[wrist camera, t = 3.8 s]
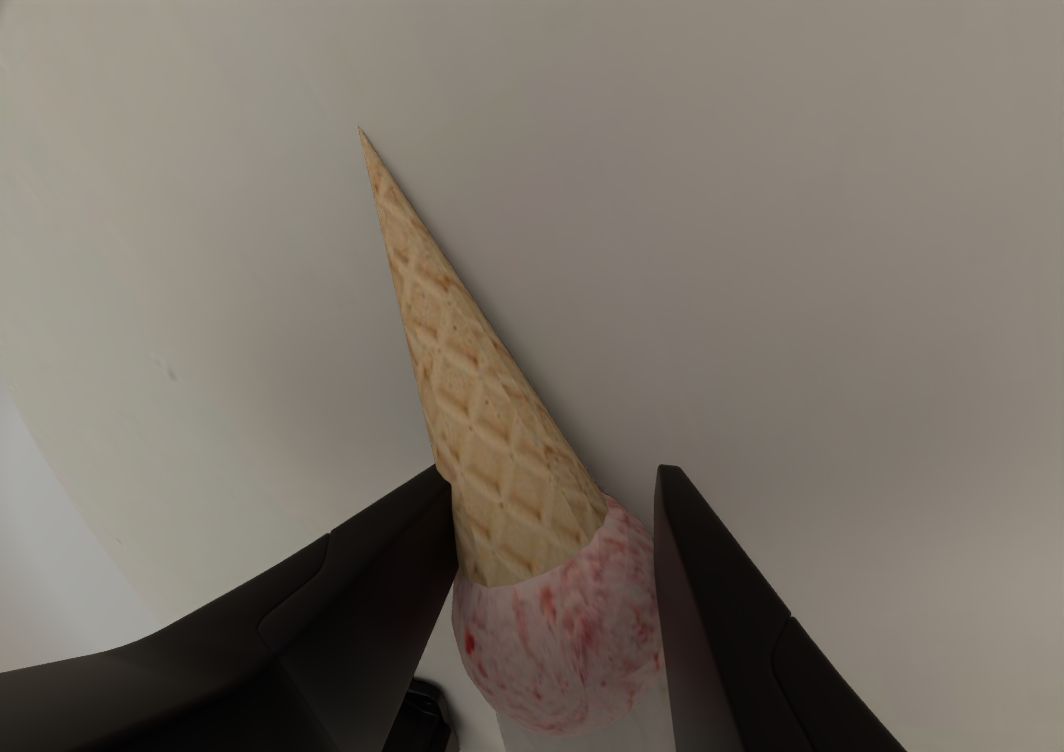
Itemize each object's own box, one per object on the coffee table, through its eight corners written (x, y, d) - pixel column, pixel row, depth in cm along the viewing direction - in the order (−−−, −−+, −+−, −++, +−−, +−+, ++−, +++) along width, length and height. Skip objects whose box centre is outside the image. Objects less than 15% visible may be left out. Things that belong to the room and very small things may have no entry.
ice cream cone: (300, 211, 10) (532, 709, 11) (111, 91, 5) (556, 967, 7) (480, 141, 10) (678, 642, 12) (465, -37, 5) (800, 847, 7)
